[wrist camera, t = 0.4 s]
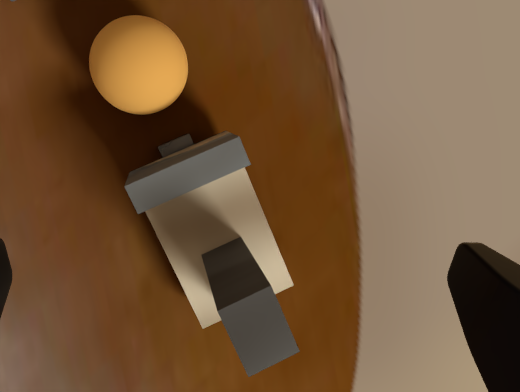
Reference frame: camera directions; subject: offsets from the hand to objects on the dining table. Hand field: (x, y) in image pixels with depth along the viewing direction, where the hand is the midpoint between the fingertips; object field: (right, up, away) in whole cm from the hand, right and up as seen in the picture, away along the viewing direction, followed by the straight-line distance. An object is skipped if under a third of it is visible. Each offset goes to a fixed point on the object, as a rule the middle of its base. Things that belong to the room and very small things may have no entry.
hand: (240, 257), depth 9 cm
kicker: (-2, 0, +14) cm, 14 cm away
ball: (-5, +7, +10) cm, 13 cm away
